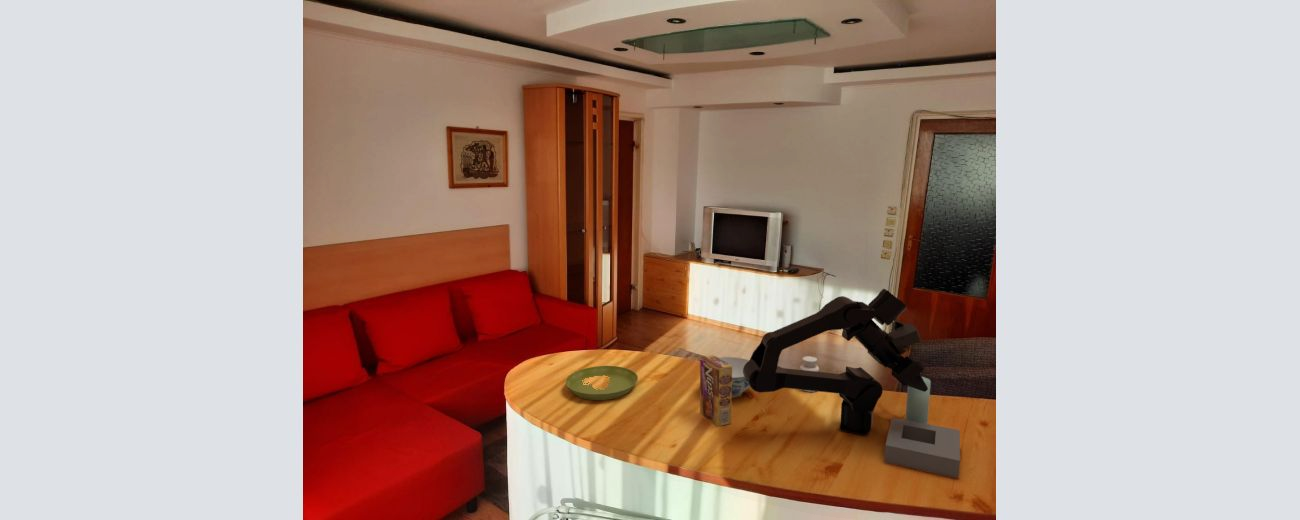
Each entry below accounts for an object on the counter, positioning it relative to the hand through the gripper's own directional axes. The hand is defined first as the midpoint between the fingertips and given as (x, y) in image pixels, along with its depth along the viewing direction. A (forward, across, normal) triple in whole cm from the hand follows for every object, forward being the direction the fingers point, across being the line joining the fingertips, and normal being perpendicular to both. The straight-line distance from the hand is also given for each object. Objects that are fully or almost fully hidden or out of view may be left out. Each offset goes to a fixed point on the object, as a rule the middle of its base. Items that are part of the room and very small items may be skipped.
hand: (916, 382), depth 134 cm
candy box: (-25, +6, +42) cm, 49 cm away
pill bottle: (-5, +23, +22) cm, 32 cm away
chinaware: (-21, +21, +38) cm, 48 cm away
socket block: (+5, -12, +11) cm, 17 cm away
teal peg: (+8, 0, +8) cm, 11 cm away
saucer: (-46, +26, +63) cm, 83 cm away
